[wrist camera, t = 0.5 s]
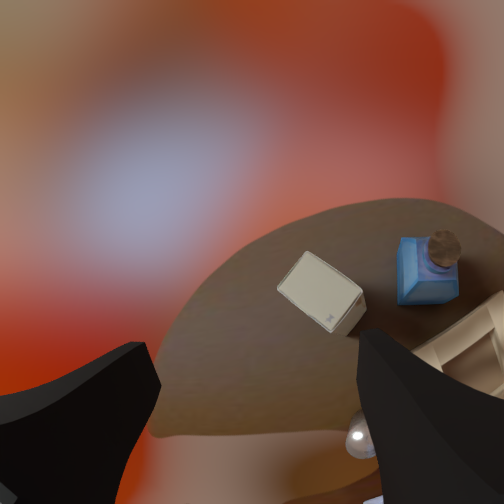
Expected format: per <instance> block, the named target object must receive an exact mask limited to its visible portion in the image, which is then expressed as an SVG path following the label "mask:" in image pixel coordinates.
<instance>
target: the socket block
mask: <svg viewBox="0 0 504 504" xmlns="http://www.w3.org/2000/svg"><path fill="white" fill-rule="evenodd" d="M410 351H411V352H412V353H413V354H415V355H416V356H418V357H419V358H421V359H422V360H424V361H425V362H427V363H428V364H430V365H431V366H433V367H434V368H436V369H438V370H439V371H441V372H443V373H444V374H446V375H448V376H450V377H452V378H453V379H455V380H457V381H459V382H461V383H463V384H466V385H468V386H470V387H472V388H474V389H476V390H479V391H481V392H484V393H486V394H489V395H492V396H495V397H498V398H501V399H504V293H503V290H501V291H499V292H497V293H495V294H493V295H491V296H490V297H488V298H487V299H486V300H485V301H483V302H482V303H481V304H480V305H478V306H477V307H476V308H474V309H473V310H472V311H470V312H469V313H468V314H466V315H465V316H463V317H462V318H461V319H459V320H458V321H456V322H455V323H453V324H452V325H450V326H449V327H448V328H446V329H445V330H443V331H441V332H440V333H438V334H437V335H435V336H434V337H432V338H430V339H429V340H427V341H426V342H424V343H422V344H421V345H419V346H417V347H416V348H414V349H412V350H410Z"/></svg>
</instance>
